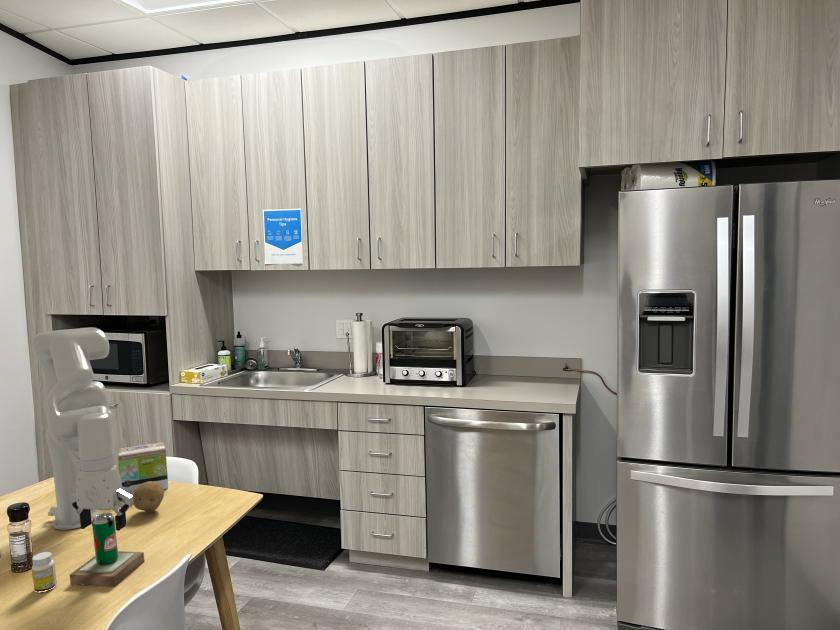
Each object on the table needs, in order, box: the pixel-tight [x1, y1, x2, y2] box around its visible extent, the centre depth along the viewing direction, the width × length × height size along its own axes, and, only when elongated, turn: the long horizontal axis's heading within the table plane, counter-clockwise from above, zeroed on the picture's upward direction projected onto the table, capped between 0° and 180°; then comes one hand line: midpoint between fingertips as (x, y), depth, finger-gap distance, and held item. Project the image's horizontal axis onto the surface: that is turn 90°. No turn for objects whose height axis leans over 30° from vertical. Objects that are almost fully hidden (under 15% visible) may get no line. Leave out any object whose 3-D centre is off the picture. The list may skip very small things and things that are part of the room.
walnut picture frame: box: [69, 550, 145, 588], centre depth 153 cm, size 12×12×3 cm
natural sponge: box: [132, 481, 165, 514], centre depth 188 cm, size 9×9×10 cm
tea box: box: [117, 441, 169, 496], centre depth 209 cm, size 15×10×15 cm, turn 117°
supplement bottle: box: [31, 551, 58, 592], centre depth 146 cm, size 5×5×8 cm
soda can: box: [91, 512, 119, 565], centre depth 152 cm, size 5×5×12 cm
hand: (103, 527), depth 152 cm, fingers open, 9 cm apart
